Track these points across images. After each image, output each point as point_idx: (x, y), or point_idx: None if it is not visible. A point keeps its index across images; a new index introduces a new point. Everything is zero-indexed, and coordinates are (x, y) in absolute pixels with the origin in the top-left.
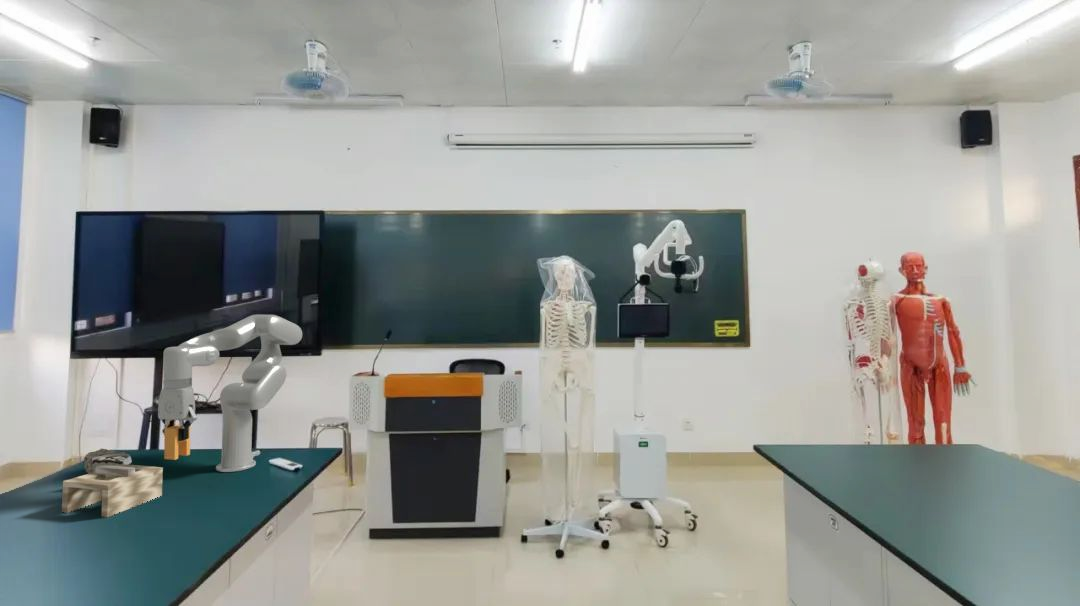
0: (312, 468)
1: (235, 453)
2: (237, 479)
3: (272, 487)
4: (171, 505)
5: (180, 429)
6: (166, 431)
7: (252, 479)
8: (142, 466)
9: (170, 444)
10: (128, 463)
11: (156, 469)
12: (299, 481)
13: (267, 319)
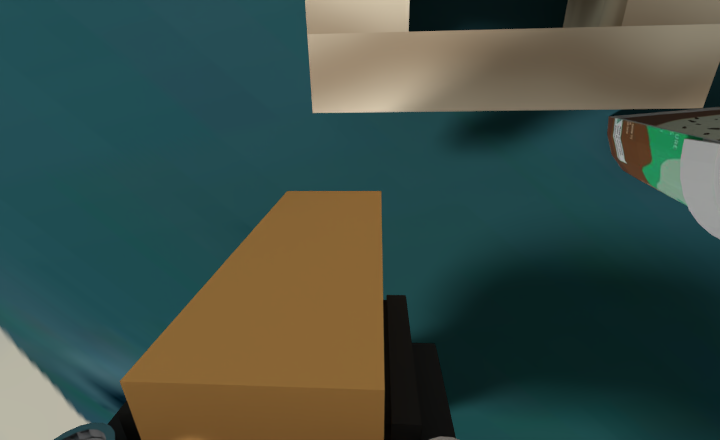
0: (95, 421)
1: None
2: None
3: (26, 267)
4: (181, 11)
5: (125, 413)
6: (341, 341)
7: (173, 317)
8: (479, 96)
9: (301, 239)
10: (684, 177)
11: (311, 62)
12: (6, 327)
13: None
